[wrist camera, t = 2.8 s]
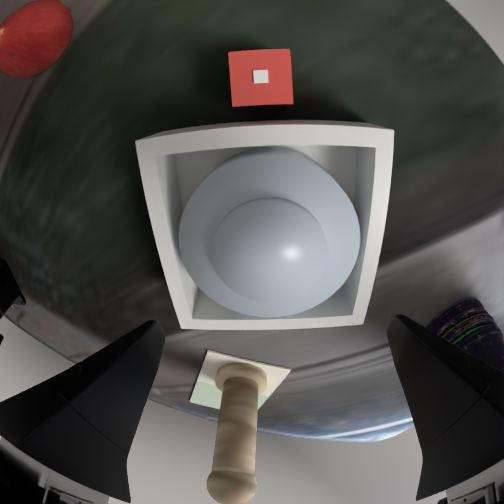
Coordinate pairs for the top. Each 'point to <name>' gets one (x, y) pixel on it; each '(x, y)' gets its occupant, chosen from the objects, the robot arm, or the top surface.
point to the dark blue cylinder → (471, 331)
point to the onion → (34, 37)
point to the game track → (214, 360)
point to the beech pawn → (236, 433)
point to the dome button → (269, 233)
